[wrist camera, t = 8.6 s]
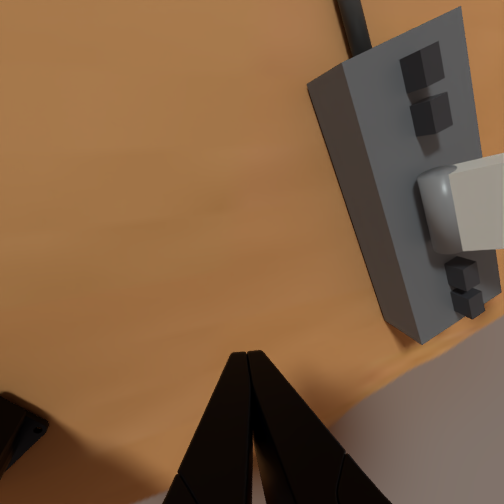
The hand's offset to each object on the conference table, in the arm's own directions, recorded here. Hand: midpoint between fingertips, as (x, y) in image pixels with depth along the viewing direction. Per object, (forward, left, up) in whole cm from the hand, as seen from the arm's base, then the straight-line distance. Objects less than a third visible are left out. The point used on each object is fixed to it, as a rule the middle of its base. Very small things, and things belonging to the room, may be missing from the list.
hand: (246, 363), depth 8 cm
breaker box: (+15, -4, -13) cm, 20 cm away
